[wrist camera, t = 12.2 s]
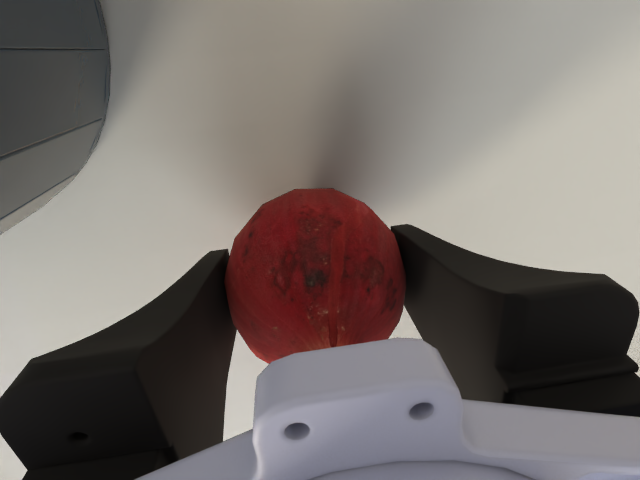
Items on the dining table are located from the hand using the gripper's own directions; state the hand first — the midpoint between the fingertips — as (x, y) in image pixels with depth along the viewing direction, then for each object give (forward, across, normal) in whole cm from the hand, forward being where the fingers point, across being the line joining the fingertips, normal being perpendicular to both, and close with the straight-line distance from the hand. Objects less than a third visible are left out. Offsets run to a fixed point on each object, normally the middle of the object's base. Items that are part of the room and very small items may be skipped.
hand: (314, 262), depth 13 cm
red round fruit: (+3, 0, 0) cm, 3 cm away
